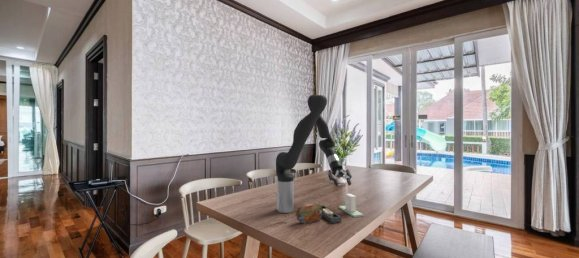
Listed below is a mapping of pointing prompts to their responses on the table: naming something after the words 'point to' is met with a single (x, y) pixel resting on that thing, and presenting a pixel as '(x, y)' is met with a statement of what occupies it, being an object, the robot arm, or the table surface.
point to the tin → (309, 213)
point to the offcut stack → (328, 212)
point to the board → (354, 214)
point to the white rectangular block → (350, 203)
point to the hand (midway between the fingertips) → (343, 185)
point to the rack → (333, 219)
